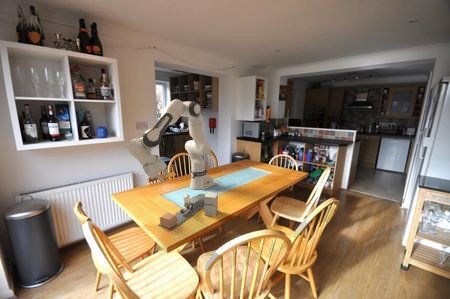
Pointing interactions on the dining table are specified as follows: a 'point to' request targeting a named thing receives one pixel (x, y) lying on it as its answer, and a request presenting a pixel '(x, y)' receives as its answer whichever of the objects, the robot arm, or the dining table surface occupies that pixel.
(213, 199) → the supplement box
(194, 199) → the steel sleeve
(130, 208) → the dining table surface
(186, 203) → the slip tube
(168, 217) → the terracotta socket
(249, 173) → the dining table surface
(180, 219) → the charcoal board
